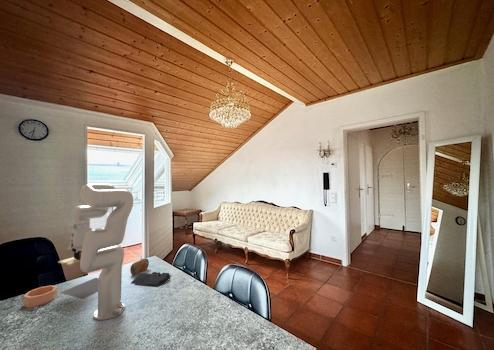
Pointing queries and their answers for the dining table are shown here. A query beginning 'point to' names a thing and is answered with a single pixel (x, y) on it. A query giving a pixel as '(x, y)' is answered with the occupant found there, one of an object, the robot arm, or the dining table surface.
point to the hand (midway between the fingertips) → (81, 257)
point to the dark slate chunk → (151, 279)
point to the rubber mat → (83, 289)
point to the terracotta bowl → (39, 296)
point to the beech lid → (72, 260)
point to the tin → (139, 266)
